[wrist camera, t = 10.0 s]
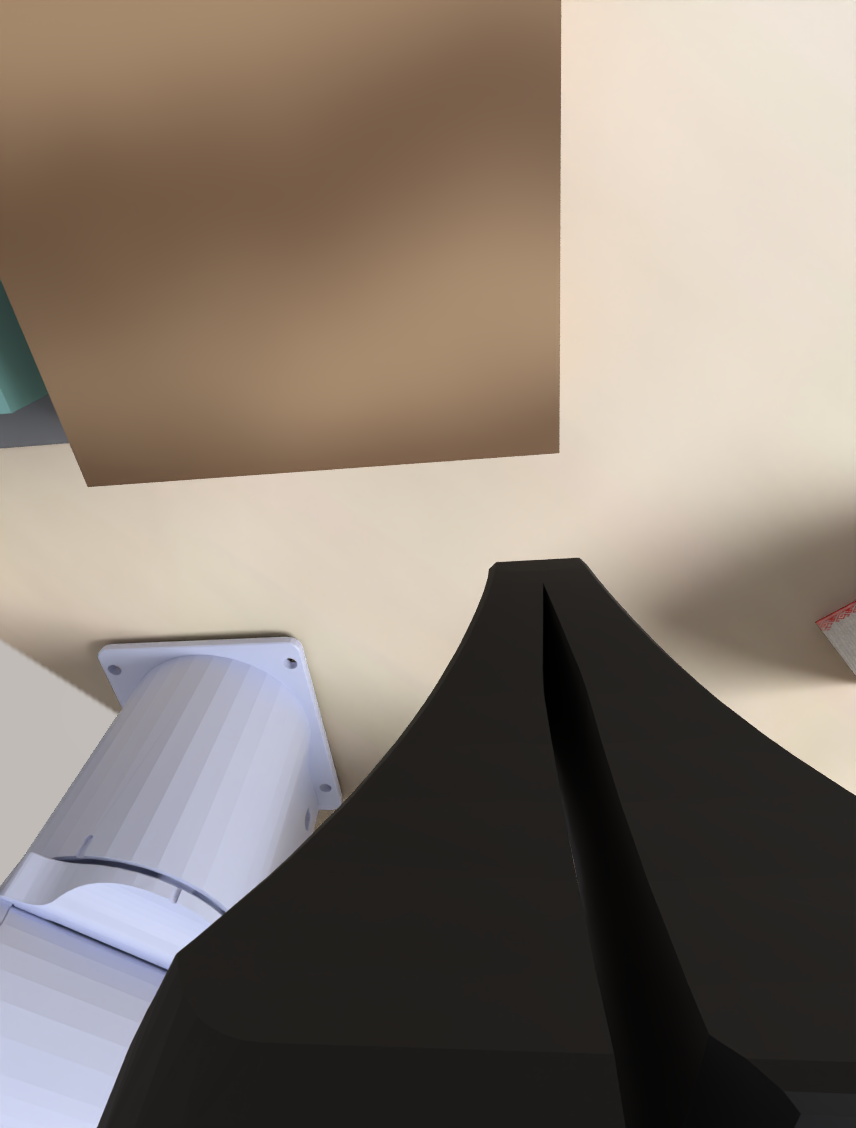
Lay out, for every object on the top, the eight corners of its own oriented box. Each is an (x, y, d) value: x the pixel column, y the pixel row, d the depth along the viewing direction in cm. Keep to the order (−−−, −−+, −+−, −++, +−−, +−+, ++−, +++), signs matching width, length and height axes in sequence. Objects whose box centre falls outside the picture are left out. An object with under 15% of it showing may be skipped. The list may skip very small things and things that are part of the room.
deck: (544, 401, 18) (559, 453, 15) (155, 433, 20) (87, 487, 16) (538, -212, 12) (562, -362, 9) (-30, -105, 13) (-201, -199, 10)
